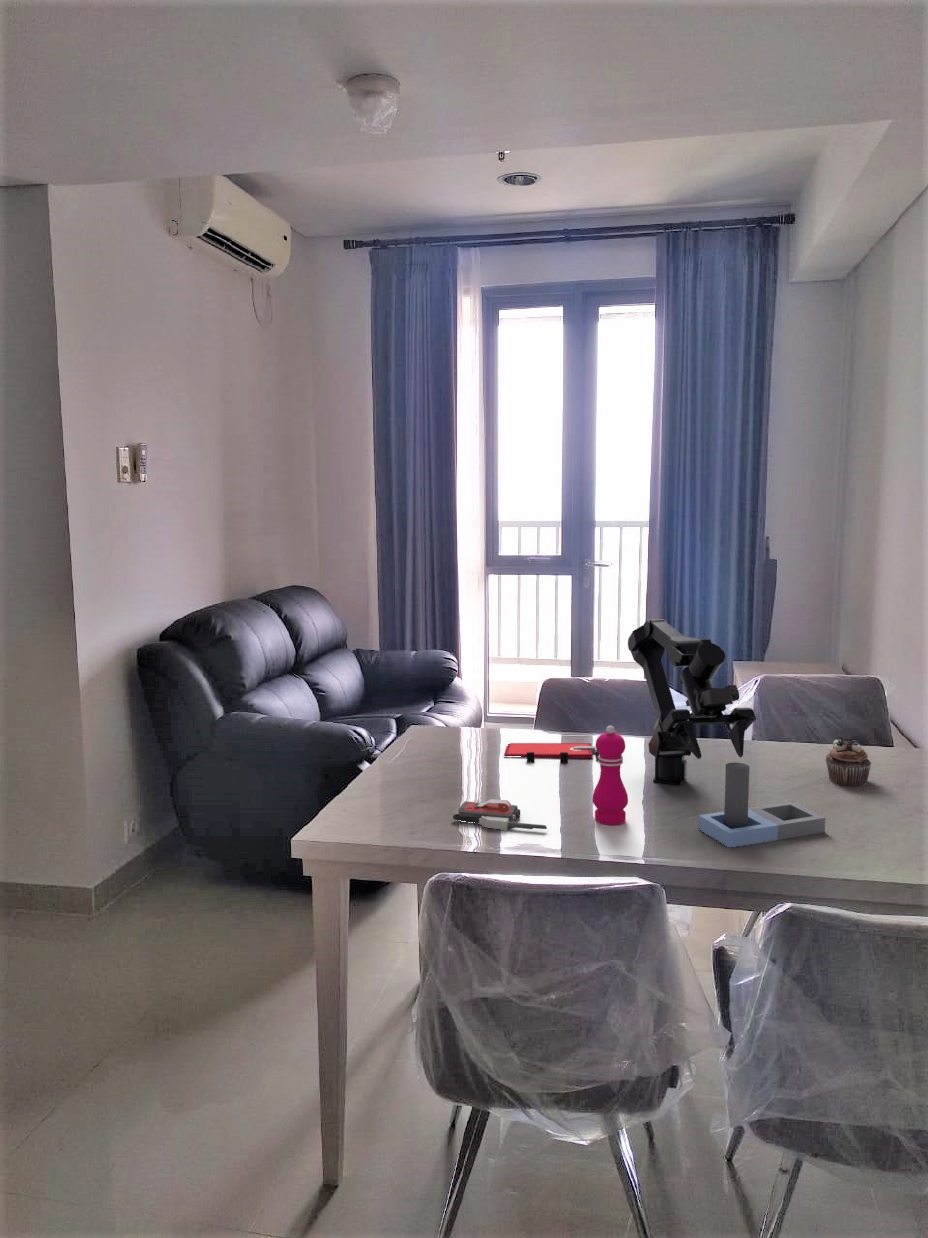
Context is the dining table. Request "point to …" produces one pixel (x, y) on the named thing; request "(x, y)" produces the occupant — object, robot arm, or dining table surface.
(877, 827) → the dining table surface
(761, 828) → the two-hole peg board
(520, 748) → the red board with handle
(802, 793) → the dining table surface
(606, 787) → the pepper mill
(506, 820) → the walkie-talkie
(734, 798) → the plug
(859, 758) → the cupcake
